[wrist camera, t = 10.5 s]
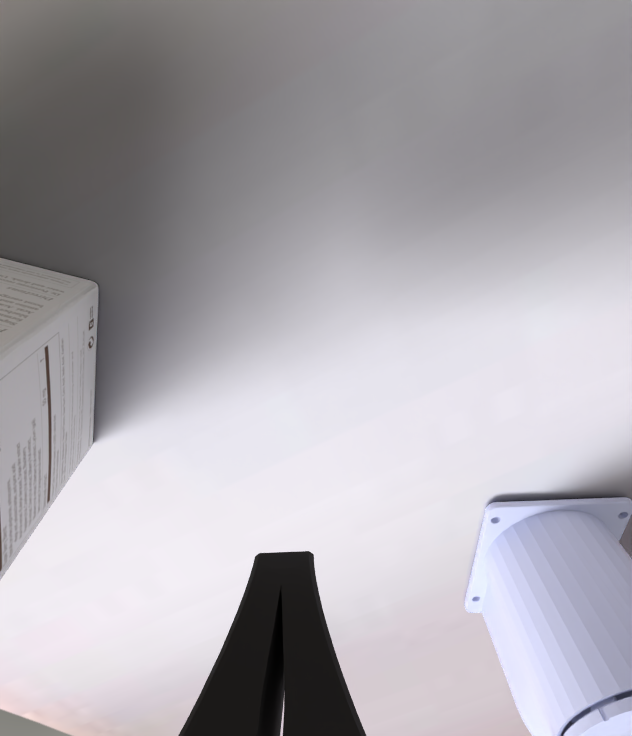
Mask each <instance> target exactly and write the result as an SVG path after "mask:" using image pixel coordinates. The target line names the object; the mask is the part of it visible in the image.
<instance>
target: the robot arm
mask: <svg viewBox="0 0 632 736" xmlns="http://www.w3.org/2000/svg"><path fill="white" fill-rule="evenodd" d="M631 515H632V500H631V499H629V498H626V497H618V498H592V499H566V500H540V501H513V502H494V503H491V504H489V505H488V506H487V507H486V510H485V514H484V519H483V523H482V527H481V532H480V536H479V541H478V545H477V550H476V554H475V558H474V563H473V567H472V572H471V576H470V580H469V585H468V589H467V594H466V598H465V603H464V606H465V609H466V611H467V612H470V613H482V614H483V617H484V620H485V622H486V625H487V628H488V630H489V633H490V636H491V638H492V641H493V644H494V647H495V649H496V652H497V655H498V657H499V660H500V663H501V666H502V668H503V671H504V674H505V676H506V679H507V682H508V684H509V687H510V690H511V693H512V695H513V698H514V701H515V703H516V706H517V709H518V711H519V713H520V716H521V718H522V720H523V722H524V724H525V725H526V727H527V728H528V730H529V732H530V733H531V734H532V736H632V558H631V557H630V556H629V554H628V553H627V552H626V550H625V549H624V548H623V547H622V545H621V544H620V543H619V541H620V539H621V536H622V534H623V532H624V530H625V528H626V526H627V523H628V521H629V519H630V517H631ZM284 690H285V694H284ZM283 700H284V725H283V736H366V734H365V731H364V729H363V727H362V724H361V722H360V719H359V717H358V714H357V712H356V709H355V706H354V704H353V701H352V699H351V696H350V693H349V690H348V688H347V685H346V682H345V679H344V677H343V674H342V671H341V668H340V665H339V662H338V659H337V656H336V653H335V650H334V647H333V644H332V640H331V637H330V634H329V630H328V627H327V624H326V620H325V617H324V613H323V609H322V605H321V601H320V596H319V592H318V587H317V582H316V576H315V568H314V555H313V554H312V553H311V552H309V551H305V552H279V553H259V554H258V555H257V556H255V560H254V564H253V568H252V571H251V574H250V578H249V581H248V584H247V587H246V590H245V592H244V595H243V598H242V600H241V603H240V606H239V608H238V611H237V614H236V616H235V618H234V621H233V623H232V626H231V628H230V630H229V633H228V635H227V638H226V640H225V642H224V645H223V647H222V649H221V651H220V654H219V656H218V658H217V660H216V662H215V664H214V666H213V669H212V671H211V673H210V675H209V677H208V679H207V681H206V683H205V685H204V687H203V689H202V692H201V694H200V696H199V698H198V700H197V702H196V704H195V705H194V707H193V709H192V711H191V713H190V715H189V717H188V719H187V721H186V723H185V725H184V727H183V728H182V730H181V732H180V734H179V736H280V729H281V720H282V710H283Z"/></svg>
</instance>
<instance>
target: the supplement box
mask: <svg viewBox="0 0 632 736" xmlns="http://www.w3.org/2000/svg"><path fill="white" fill-rule="evenodd" d="M98 291H99V288H98V285H97V284H96V283H95V282H93V281H90V280H87V279H83V278H79V277H75V276H71V275H67V274H63V273H59V272H55V271H51V270H47V269H43V268H39V267H35V266H31V265H27V264H23V263H19V262H15V261H11V260H7V259H3V258H0V580H1V578H2V577H3V575H4V574H5V572H6V571H7V570H8V568H9V567H10V565H11V564H12V562H13V561H14V559H15V558H16V556H17V555H18V553H19V552H20V550H21V549H22V547H23V546H24V545H25V543H26V542H27V540H28V539H29V537H30V536H31V534H32V533H33V531H34V530H35V528H36V527H37V526H38V524H39V523H40V521H41V520H42V518H43V517H44V515H45V514H46V512H47V511H48V509H49V508H50V506H51V505H52V503H53V502H54V500H55V499H56V497H57V496H58V495H59V493H60V492H61V490H62V489H63V487H64V486H65V484H66V483H67V481H68V480H69V478H70V477H71V475H72V474H73V472H74V471H75V469H76V468H77V466H78V465H79V464H80V462H81V461H82V459H83V458H84V456H85V455H86V454H87V452H88V451H89V449H90V448H91V446H92V444H93V426H94V400H95V373H96V345H97V320H98Z"/></svg>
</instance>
